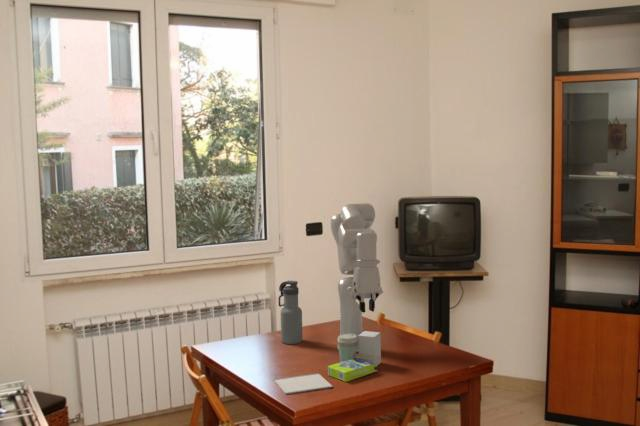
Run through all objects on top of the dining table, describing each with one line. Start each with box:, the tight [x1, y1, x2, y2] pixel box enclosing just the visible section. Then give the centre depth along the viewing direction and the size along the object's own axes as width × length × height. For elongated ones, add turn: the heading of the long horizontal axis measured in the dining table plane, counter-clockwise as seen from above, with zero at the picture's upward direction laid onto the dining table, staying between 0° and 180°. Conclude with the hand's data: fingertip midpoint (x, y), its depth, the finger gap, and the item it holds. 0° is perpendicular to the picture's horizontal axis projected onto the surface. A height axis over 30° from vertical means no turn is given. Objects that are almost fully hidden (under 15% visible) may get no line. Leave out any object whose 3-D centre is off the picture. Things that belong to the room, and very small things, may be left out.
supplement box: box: [357, 330, 382, 368], centre depth 265 cm, size 7×7×13 cm
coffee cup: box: [336, 333, 358, 363], centre depth 264 cm, size 8×8×12 cm
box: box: [327, 357, 378, 383], centre depth 254 cm, size 10×4×17 cm
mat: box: [273, 372, 334, 396], centre depth 244 cm, size 18×16×1 cm
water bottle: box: [277, 279, 303, 345], centre depth 298 cm, size 10×10×28 cm
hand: (367, 310), depth 251 cm, fingers open, 3 cm apart
